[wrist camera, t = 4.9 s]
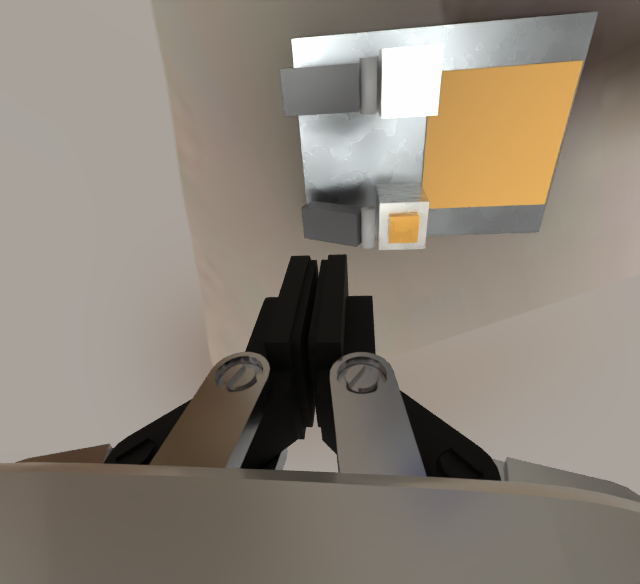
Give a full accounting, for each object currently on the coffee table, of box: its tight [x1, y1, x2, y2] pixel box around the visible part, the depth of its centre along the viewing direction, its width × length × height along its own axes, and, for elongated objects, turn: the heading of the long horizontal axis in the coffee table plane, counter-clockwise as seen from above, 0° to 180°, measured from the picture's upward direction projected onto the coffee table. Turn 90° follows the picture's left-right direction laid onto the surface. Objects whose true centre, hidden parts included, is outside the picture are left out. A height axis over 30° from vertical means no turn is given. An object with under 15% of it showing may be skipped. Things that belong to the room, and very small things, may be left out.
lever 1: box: [280, 56, 377, 117], centre depth 19 cm, size 5×3×1 cm, turn 94°
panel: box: [292, 12, 598, 250], centre depth 23 cm, size 17×13×6 cm
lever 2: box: [302, 201, 376, 249], centre depth 24 cm, size 5×3×1 cm, turn 94°
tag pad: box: [421, 61, 583, 209], centre depth 24 cm, size 8×8×1 cm
